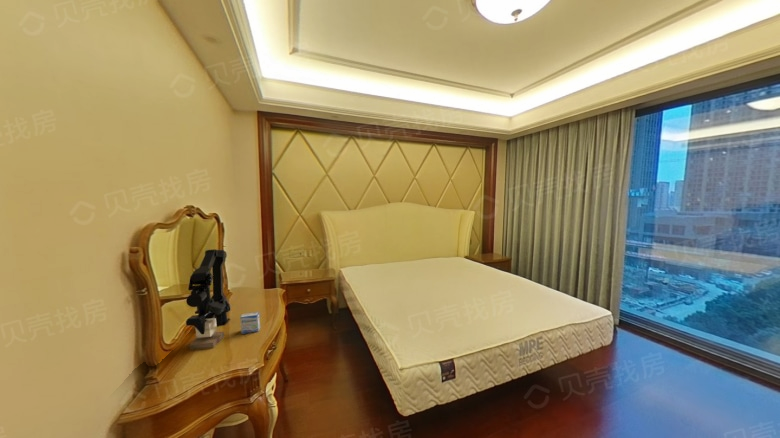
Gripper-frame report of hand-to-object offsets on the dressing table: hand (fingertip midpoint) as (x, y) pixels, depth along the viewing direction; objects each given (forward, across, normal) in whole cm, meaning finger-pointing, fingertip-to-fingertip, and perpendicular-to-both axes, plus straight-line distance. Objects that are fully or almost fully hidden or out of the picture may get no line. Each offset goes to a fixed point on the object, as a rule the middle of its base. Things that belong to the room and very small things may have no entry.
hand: (206, 330), depth 129 cm
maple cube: (+2, 0, 0) cm, 2 cm away
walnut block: (+6, 0, 0) cm, 6 cm away
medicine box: (+6, +9, -16) cm, 19 cm away
